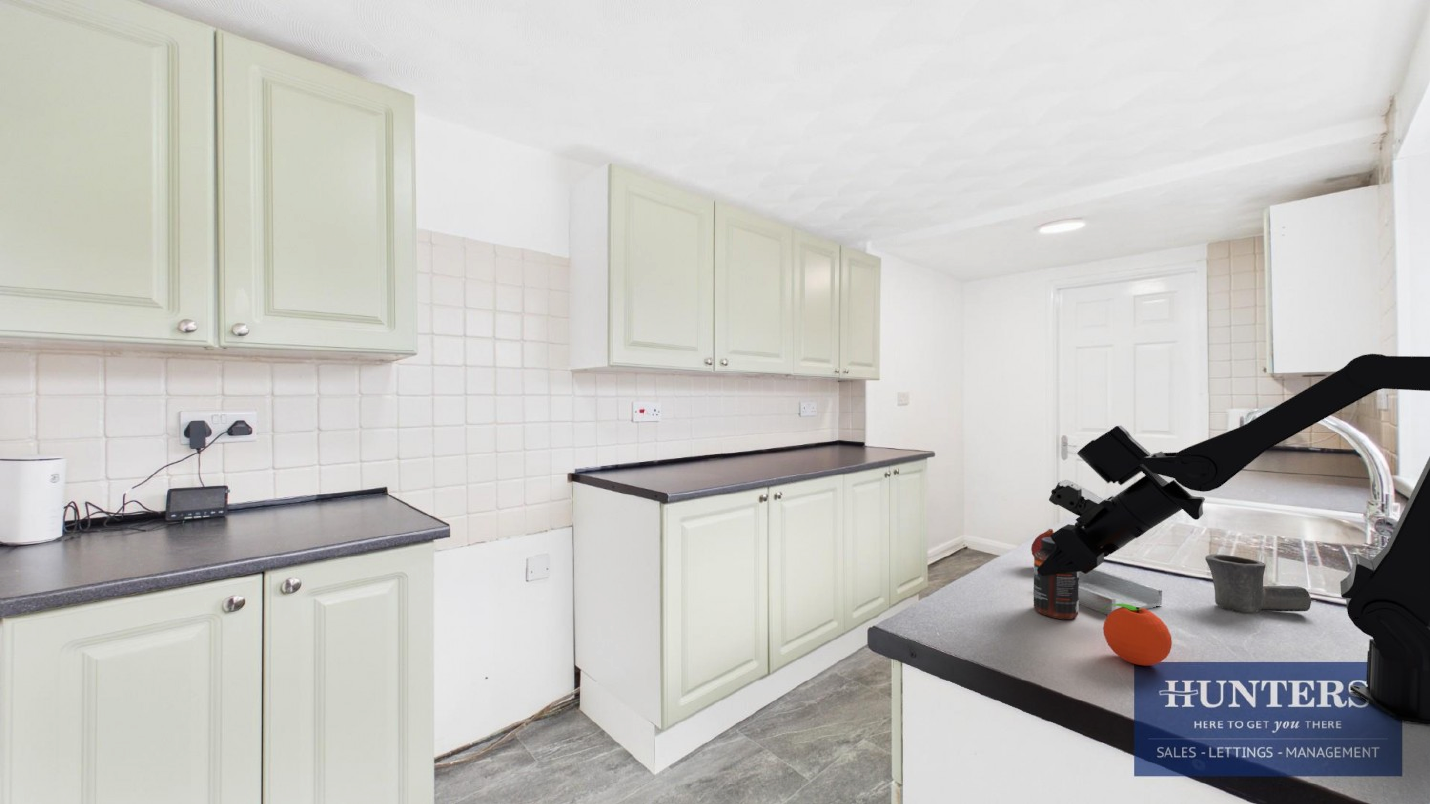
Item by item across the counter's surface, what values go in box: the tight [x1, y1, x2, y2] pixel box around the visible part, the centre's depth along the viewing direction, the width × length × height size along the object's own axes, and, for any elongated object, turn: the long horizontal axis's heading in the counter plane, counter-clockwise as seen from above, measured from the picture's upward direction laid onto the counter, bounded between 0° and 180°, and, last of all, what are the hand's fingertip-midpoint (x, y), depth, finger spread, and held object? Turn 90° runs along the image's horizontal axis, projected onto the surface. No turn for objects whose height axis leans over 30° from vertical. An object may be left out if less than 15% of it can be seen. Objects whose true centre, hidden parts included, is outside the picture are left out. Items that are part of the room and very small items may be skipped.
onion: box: [1030, 528, 1055, 557], centre depth 105 cm, size 6×6×8 cm
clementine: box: [1099, 604, 1173, 667], centre depth 71 cm, size 8×7×7 cm
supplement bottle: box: [1033, 537, 1080, 620], centre depth 85 cm, size 6×6×11 cm
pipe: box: [1205, 553, 1312, 614], centre depth 86 cm, size 6×13×8 cm, turn 78°
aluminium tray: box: [1079, 568, 1163, 616], centre depth 91 cm, size 12×12×3 cm
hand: (1046, 568), depth 86 cm, fingers closed on supplement bottle, 6 cm apart
